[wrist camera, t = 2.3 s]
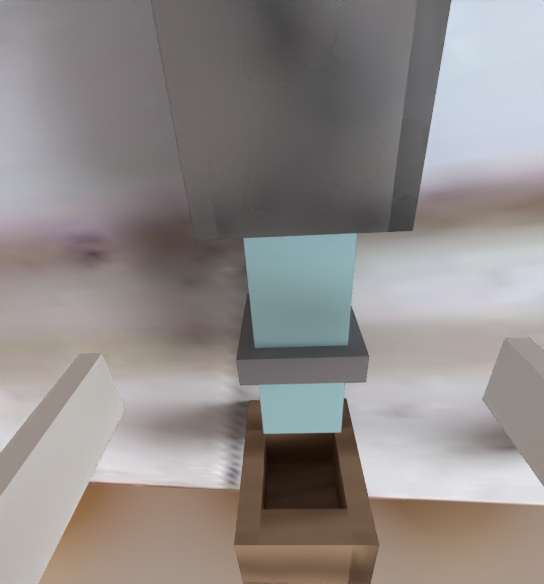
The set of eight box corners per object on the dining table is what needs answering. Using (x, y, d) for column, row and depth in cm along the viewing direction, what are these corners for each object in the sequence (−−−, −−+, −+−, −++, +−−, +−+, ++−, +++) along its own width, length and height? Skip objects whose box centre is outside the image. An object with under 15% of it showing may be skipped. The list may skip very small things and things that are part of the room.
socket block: (249, 400, 29) (234, 545, 20) (346, 398, 29) (379, 544, 19) (254, 440, 32) (243, 583, 22) (342, 438, 31) (370, 584, 22)
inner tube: (186, -273, 10) (87, -677, 5) (384, -297, 10) (504, -750, 5) (255, 370, 23) (248, 446, 18) (340, 367, 23) (358, 444, 18)
